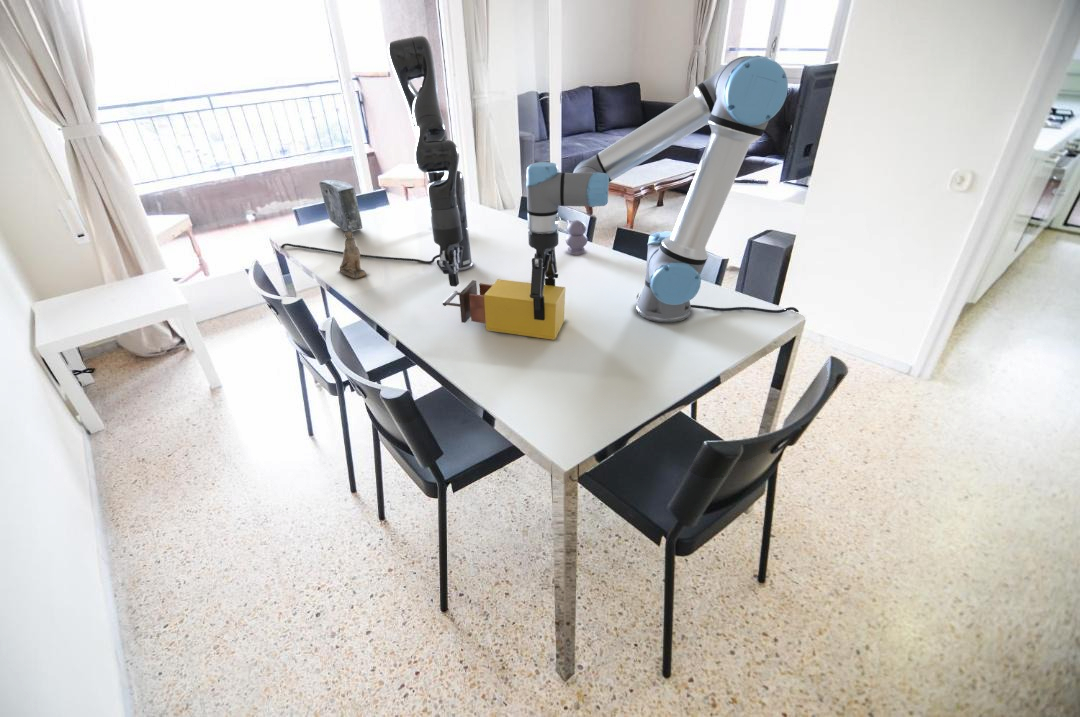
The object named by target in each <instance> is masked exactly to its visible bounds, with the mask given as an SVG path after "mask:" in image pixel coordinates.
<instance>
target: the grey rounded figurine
mask: <svg viewBox="0 0 1080 717" xmlns="http://www.w3.org/2000/svg"><path fill="white" fill-rule="evenodd" d="M566 221H567V227H566V228H567V229H566V230H567V233H568V234H567V235H566V237H565V243H566V245H567V246H568V247H567V253H568V254H569V255H573V256H578V255H582V254H584V253H585V247H586V245H587V243H588V237H587V235H586V234H585V233H586V230H587V226H586V224H585V223H584V222H583V221H582V220H578V219H574V220H569V219H566Z"/></svg>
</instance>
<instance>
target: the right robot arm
mask: <svg viewBox="0 0 1080 717" xmlns="http://www.w3.org/2000/svg"><path fill="white" fill-rule="evenodd" d="M788 90H789V81H788V77H787V74H786V71H785V69H784V67H782V65H781V64H780V63H779V62H777V61H775V60H774V59H773V58H770V57H768V56H762V55H743V56H739V57H737V58H735V59H732V60H731V61H729V62H728V63H727V64H725V65H724V66H722V67H721V68H720V69H718V71H716V72H715V73H713V74H712V75H711V76H709V77H708V78H706V79H705V80H703V81H702V82H700V83H699V84H696V86H694V89H693V92H692V93H691V94H690V95H688V96H687V97H686V98H684V99H682V100H681V101H679V102H677V103H675V104H674V105H672V106H671V107H669V108H668V109H666V110H664V111H663V112H661V113H660V114H658V115H657V116H655V117H653V118H651V119H650V120H649V121H647V122H646V123H644V124H642V125H641V126H639V127H638V128H636V129H634V130H633V131H631V132H629V133H628V134H626V135H625V136H623V137H621V138H620V139H618V140H617V141H615V142H614V143H612V144H611V145H609V146H607V147H606V148H604V149H602V150H601V151H599V152H598V153H597V154H595V155H592V157H590V158H588V159H584V160H581V161H580V162H579V163H578V164H577V165H576V166H575V167H574V169H573V171H572V172H561V171H560V170H559V166H558V164H557V163H555V162H548V161H540V162H539V161H538V162H533V163H531V164H529V165H528V166H527V168H526V183H525V189H526V203H527V204H526V205H527V206H526V207H527V212H526V214H527V229H528V232H527V233H528V236H527V237H528V246H529V247H530V248H532V249H534V250H535V253H534V256H533V257H532V258H531V279H530V281H531V282H530V283H531V295H530V297H531V298H533V305H534V319H536V320H544V319H545V310H544V296H543V291H544V285H551V286H556V279H559V274H558V267H557V258H556V247H557V246H558V245H559V230H558V228H559V222H561V217H560V216H559V207H585V208H586V207H588V208H589V207H590V208H595V207H606V206H607V205H608V203H609V188H610V182H612V181H613V180H615V179H617V178H618V177H620V176H622V175H624V174H626V173H627V172H629V171H631V170H632V169H634V168H636V167H637V166H639V165H640V164H642V163H644V162H646V161H647V160H649V159H651V158H652V157H655V156H656V155H658V154H659V153H661V152H663V151H665V149H668V148H670V147H671V146H672V145H674V144H676V143H677V142H679V141H681V140H682V139H684V138H686V137H688V136H689V135H691V134H693V133H694V132H696V131H698V130H699V129H701V128H703V127H704V126H708V125H709V128H710V131H711V133H710V135H709V138H708V140H707V143H706V145H705V147H704V150H703V153H702V156H701V158H700V161H699V163H698V166H697V168H696V171H695V173H694V176H693V179H692V180H691V183H690V186H689V189H688V191H687V194H686V196H685V198H684V201H683V203H682V207H681V208H680V212H679V214H678V217H677V219H676V222H675V224H674V227H673V230H671V231H670V230H669V231H666V230H663V231H656V232H653V233H651V234H650V235H649V236H648V241H647V244H646V245H647V253H646V254H647V255H646V263H645V264H646V266H645V276H644V278H645V279H644V286H643V288H642V290H641V293H640V292H638V293H637V295H636V299H637V303H636V312H637V314H638V315H639V316H640V317H642V318H643V319H646V320H648V321H652V322H656V323H678V322H680V321H683V320H686V319H688V318H689V316H690V315H691V311H692V310H691V309H692V308H693V309H701V310H708V311H716V312H731V311H755V312H762V313H770V314H781V313H785V312H788V311H794V312H795V313H799V309H798V308H796V307H794V306H788V307H785V308H781V309H768V308H761V307H752V306H737V307H714V306H708V305H707V306H706V305H697V304H691V301H692V300H693V299H694V298H695V297H696V296H697V294H698V293H699V291H700V289H701V284H702V277H701V274H702V271H703V269H704V267H705V265H706V263H707V260H708V258H709V253H708V251H707V249H706V246H707V245H708V242H709V240H710V237H711V235H712V233H713V231H714V228H715V226H716V225H717V221H718V220H719V217H720V215H721V212H722V211H723V208H724V205H725V203H726V201H727V198H728V196H729V194H730V192H731V189H732V187H733V185H734V183H735V180H736V179H737V176H738V173H739V171H740V170H741V166H742V165H743V162H744V160H745V158H746V156H747V153H748V150H749V148H750V146H751V144H752V143H754V142H756V141H758V140H760V139H761V138H762V137H763V134H764V132H765V131H766V128H767V126H768V124H769V121H770V120H771V119H772V118H774V117H775V116H776V115H777V114H778V112H780V111H781V108H782V107H783V105H784V104H785V101H786V99H787V96H788ZM639 293H640V295H639ZM784 309H786V310H784ZM787 310H788V311H787Z"/></svg>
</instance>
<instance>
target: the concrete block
mask: <svg viewBox="0 0 1080 717" xmlns="http://www.w3.org/2000/svg"><path fill="white" fill-rule="evenodd" d="M318 185H319V187H320V192H321V195H322V199H323V202H324V206H325V209H326V214H327V217H328V219H329V221H330V222H331V223H333V224H334V225H336V226H337V228H339V229H341V231H344V233H345V232H346V231H348V230H350V231H352V233H353V232H355V231H360V230H362V229H363V222H362V219H361V218H362V217H361V213H360V209H359V205H358V198H357V193H356V190H355V187H354V185H352V184H350V183H349V182H346V181H344V180H340V179H337V178H335V179H334V178H333V179H325V180H322V181H319V184H318Z"/></svg>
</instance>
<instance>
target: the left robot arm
mask: <svg viewBox="0 0 1080 717" xmlns="http://www.w3.org/2000/svg"><path fill="white" fill-rule="evenodd" d="M387 53H388V58H389V61H390V64H391V68H392V71H393V74H394V76H395V78H396V81H397V84H398V87H399V89H400V91H401V94H402V96H403V99H404V102H405V105H406V108H407V111H408V115H409V119H410V122H411V126H412V130H413V132H414V136H415V138H416V143H415V148H414V162H415V165H416V167H417V168H418V170H419V171H421V172H422V173H423V174H427V179H428V183H429V184H428V185H427V197H428V201H429V204H430V217H431V224H432V228H431V229H432V230H431V231H432V236H433V242H434V244H436V245H438V246H439V253H438V254H437V255H434V256H433V257H432V259H431V260H422V259H418V258H408V257H396V256H395V257H393V256H380V255H371V254H370V255H369V254H361V253H360V258H368V259H379V260H390V261H391V260H392V261H403V262H417V263H421V264H429V265H431V264H433V263H434V262H435V261H436V265H437V267H438V268H439V269H440V270H441V272H442V273H443V274H444V275H447V276H448V281H449V282H448V283H449V286H450V287H458V286H459V284H460V280H459V271H467V270H469V269H471V268H472V266H473V260H472V250H471V242H470V234H469V224H468V216H467V205H466V190H465V180H464V179H465V178H464V176H463V173H462V172H461V171H460V170H458V167H459V163H460V162H459V161H460V151H459V148H458V146H457V144H456V143H455V142H454V141H453V140H451V139H448V132H447V128H446V125H445V121H444V117H443V114H442V111H441V104H440V96H439V85H438V84H439V83H438V75H437V67H436V61H435V56H434V52H433V49H432V46H431V43H430V42H429V39H428V38H427V37H426V36H424V35H417V36H412V37H411V36H410V37H406V38H401V39H397V40H393V41H390V42H389V43H388V46H387ZM419 79H423V80H422V83H421V85H420V87H419V89H416V87H415V86H414V84H413V82H412V81H413V80H419ZM285 247H292V248H300V249H307V250H314V251H318V252H319V251H320V252H326V253H332V254H339V255H343V253H344V251H339V250H334V249H327V248H321V247H314V246H308V245H302V244H292V243H289V242H288V243H283V244H282V245H281V246H280V248H281V249H282V248H285ZM438 258H439V259H438ZM436 259H437V260H436Z"/></svg>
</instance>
